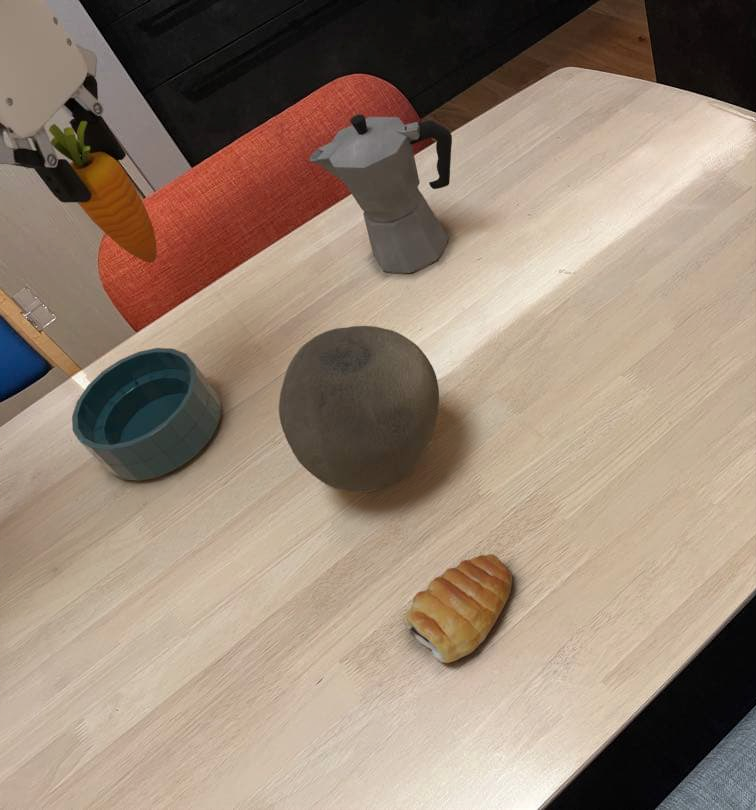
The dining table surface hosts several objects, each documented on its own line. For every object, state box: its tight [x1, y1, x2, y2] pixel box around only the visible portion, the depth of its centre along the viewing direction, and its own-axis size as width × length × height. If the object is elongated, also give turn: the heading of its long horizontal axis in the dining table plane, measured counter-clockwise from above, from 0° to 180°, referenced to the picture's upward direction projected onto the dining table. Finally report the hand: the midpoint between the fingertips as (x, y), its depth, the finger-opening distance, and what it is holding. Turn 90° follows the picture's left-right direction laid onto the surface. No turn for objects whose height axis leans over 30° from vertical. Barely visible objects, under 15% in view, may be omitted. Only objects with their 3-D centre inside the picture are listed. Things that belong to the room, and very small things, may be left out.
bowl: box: [71, 347, 222, 482], centre depth 95 cm, size 13×13×6 cm
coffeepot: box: [309, 114, 453, 275], centre depth 101 cm, size 15×9×18 cm, turn 94°
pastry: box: [402, 553, 513, 664], centre depth 74 cm, size 9×7×4 cm
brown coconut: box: [278, 325, 440, 493], centre depth 82 cm, size 14×14×15 cm
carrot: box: [48, 121, 158, 264], centre depth 81 cm, size 5×5×15 cm
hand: (93, 177), depth 79 cm, fingers closed on carrot, 5 cm apart
